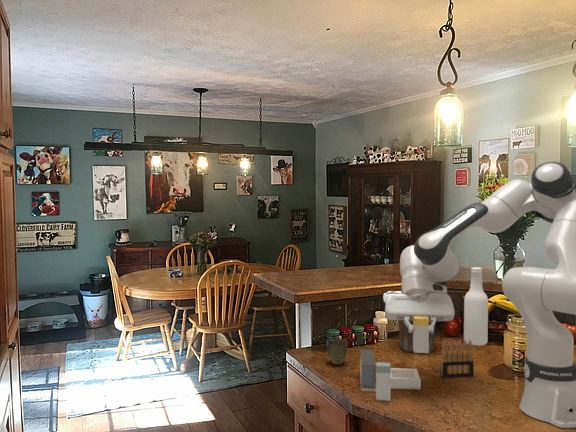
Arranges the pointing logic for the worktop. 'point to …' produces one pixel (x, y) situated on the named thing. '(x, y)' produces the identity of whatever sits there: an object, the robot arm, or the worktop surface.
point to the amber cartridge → (421, 334)
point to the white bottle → (476, 311)
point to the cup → (337, 350)
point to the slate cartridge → (383, 381)
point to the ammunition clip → (457, 360)
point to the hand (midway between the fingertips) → (421, 332)
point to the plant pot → (407, 337)
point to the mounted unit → (367, 371)
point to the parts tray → (405, 379)
